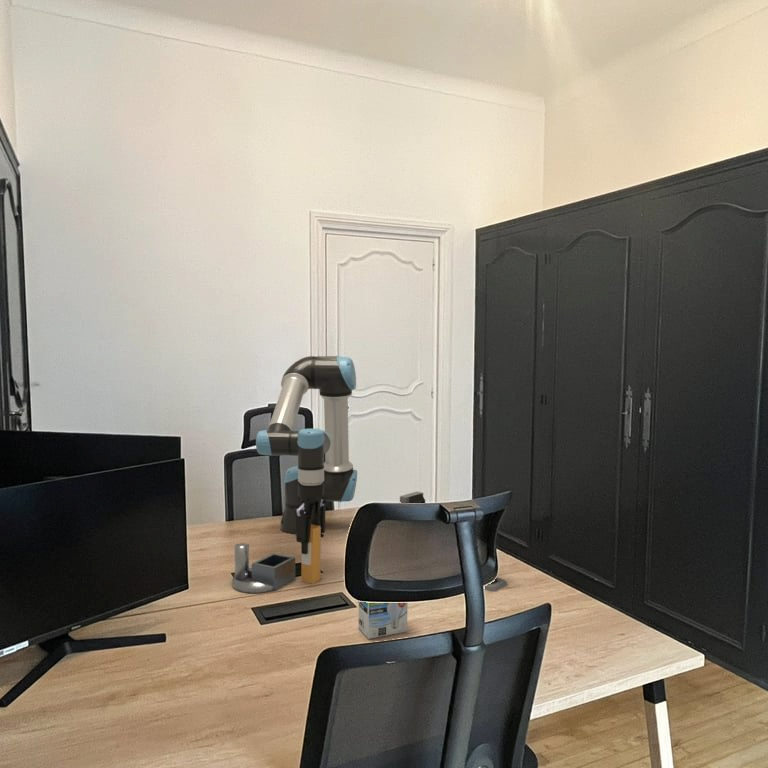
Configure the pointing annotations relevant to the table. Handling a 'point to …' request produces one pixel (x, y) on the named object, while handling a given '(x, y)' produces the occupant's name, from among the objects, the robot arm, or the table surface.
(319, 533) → the orange rectangular block
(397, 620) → the light bulb box
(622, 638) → the table surface
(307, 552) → the robot arm
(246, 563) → the bracket
